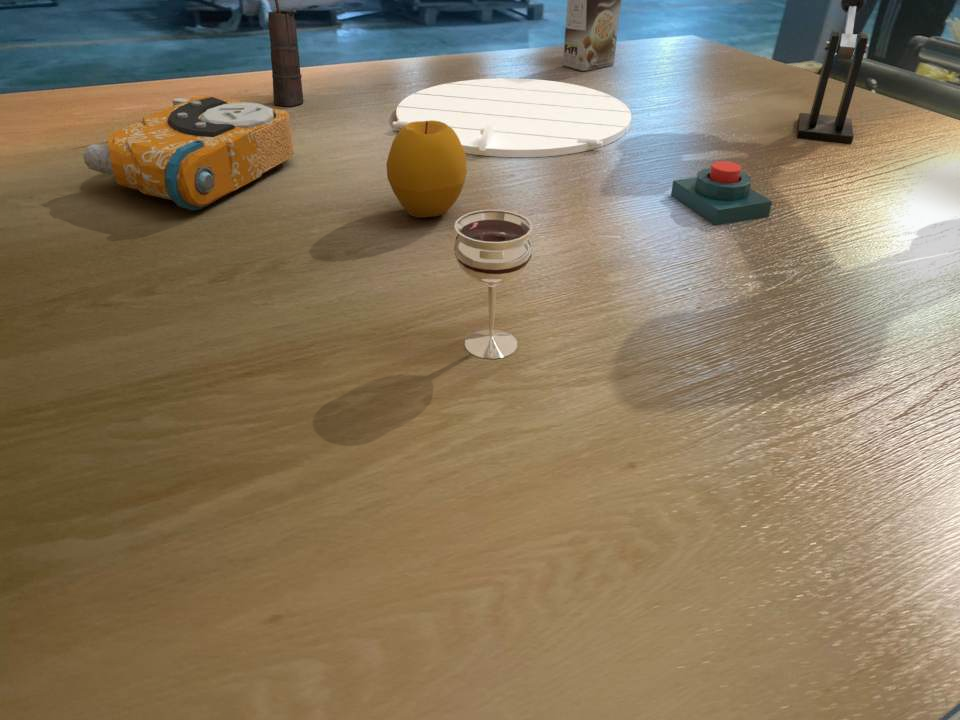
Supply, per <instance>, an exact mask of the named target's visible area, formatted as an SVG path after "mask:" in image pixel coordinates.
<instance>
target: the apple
mask: <svg viewBox="0 0 960 720" xmlns="http://www.w3.org/2000/svg"><path fill="white" fill-rule="evenodd" d="M389 149H390V150H389V153H388V155H387V159H386V165H385V166H386V174H387V175H386V176H387V177H386V178H387V180H388V182H389V185H390V187H391V190H392V192H393V194H394V196H395V197H396V199H397V200H398V202H399V203H400V205H401V206H402V208H403V209H404V210H405V212H407V213H408V214H409V215H411V216H413V217H415V218H433V217H439V216H442V215H444V214H445V213H446V212H448V211H449V210H450V209H451V208H452V207H453V206H454V204H455V203H456V201H457V200H458V199H459V197H460V195H461V193H462V191H463V189H464V188H463V187H464V185H465V181H466V177H467V174H468V168H467V167H468V166H467V156H466V153H465V151H464V149H463V147H462V145H461V143H460V140H459V138H458V136H457V135H456V133H455V132H454V130H453V129H452V128H451V127H449V126H448V125H446V124H445V123H442V122H440V121H433V120H431V121H417V122H411V123H409V124H407V125H406V126H404V127H403V128H402V129H401V128H400V130H398V132H397V134H396V136H395V137H394V139H393V140H392V143H391V145H390V148H389Z"/></svg>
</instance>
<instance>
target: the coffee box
mask: <svg viewBox="0 0 960 720" xmlns="http://www.w3.org/2000/svg"><path fill="white" fill-rule="evenodd" d="M566 3H567V5H566V17H565V29H564V43H563V53H562V55H563V56H562V66H563V67H567V68H571V69H574V70H578V71H581V72H587V71H591V70H597V69H601V68H607V67H611V66H614V65H615V59H616V50H617V42H618V41H617V40H618V32H619V23H620V14H621V6H622V0H567V2H566Z"/></svg>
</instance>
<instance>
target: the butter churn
mask: <svg viewBox="0 0 960 720" xmlns="http://www.w3.org/2000/svg"><path fill="white" fill-rule="evenodd" d="M274 4H275V8H276V10H272V11H268V12H267V14H268V34H269V41H270V46H269V50H270V61H271V75H272V76H271V77H272V95H273V104H274V105H277V106H284V107H291V106H298V105H302V104H303V103H304V101H305V100H304V93H303V83H302V77H303V75H302V73H301V66H300V65H301V64H300V62H301V61H300V53H299V52H300V51H299V43H298V33H297V26H296V20H295V15H296V14H297V10H295V9H294V10H291V11H290V10H286V9H285V10H284V9H281V8H280V7H281V6H280V3H279V0H274Z"/></svg>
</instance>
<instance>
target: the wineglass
mask: <svg viewBox="0 0 960 720" xmlns="http://www.w3.org/2000/svg"><path fill="white" fill-rule="evenodd" d="M453 228H454V229H455V231H456V233H457V235H456V237H455V241H454V246H453V251H454V255H455V256H454V257H455V259H456V261H457V264H458V266H459V268H460V269H461V270H462V271H463V272H464V273H466V274H467V275H468V276H469V277H470V278H472V279H473V280H474V281H476V282H479V283H482V284H484V285H485V286H486V287H487V300H488V301H487V302H488V303H487V304H488V328H487V329H481V330H477V331H475V332H472V333H470V334H469V335H468V336H467V337H466V339H465V340H464V348H465V349H466V351H467V352H469V353H470V354H471V355H474V356H475V357H478V358H482V359H489V360H490V359H491V360H494V359H496V360H497V359H502V358H503V359H504V358H505V357H507V356H508V357H509V356H510V355H512V354H513V353H514V352H515V351H516V350H517V348H518V341H517V339H516V337H515V336H513V335H512V334H511V333H509V332H506V331H504V330H500V329H495V318H496V317H495V316H496V301H497V287H498V286H500V285H501V284H504V283H508V282H510V281H512V280H513V279H515V278H516V277H518V276H519V275H520V274H522V273H523V272H524V270H526V268H527V266H528V264H529V263H530V261H531V259H532V257H533V256H532V254H533V243H532V239H531V237H530V236H529V235H530V234H531V233H532V231H533V223H532V221H531V220H530V219H529V218H527V217H526V216H524V215H523V214H520V213H517V212H514V211H509V210H504V209H481V210H475V211H471V212H467V213H466V214H463V215H462V216H460V217H458V218H457V219H456V220H455V222H454V227H453Z"/></svg>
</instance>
